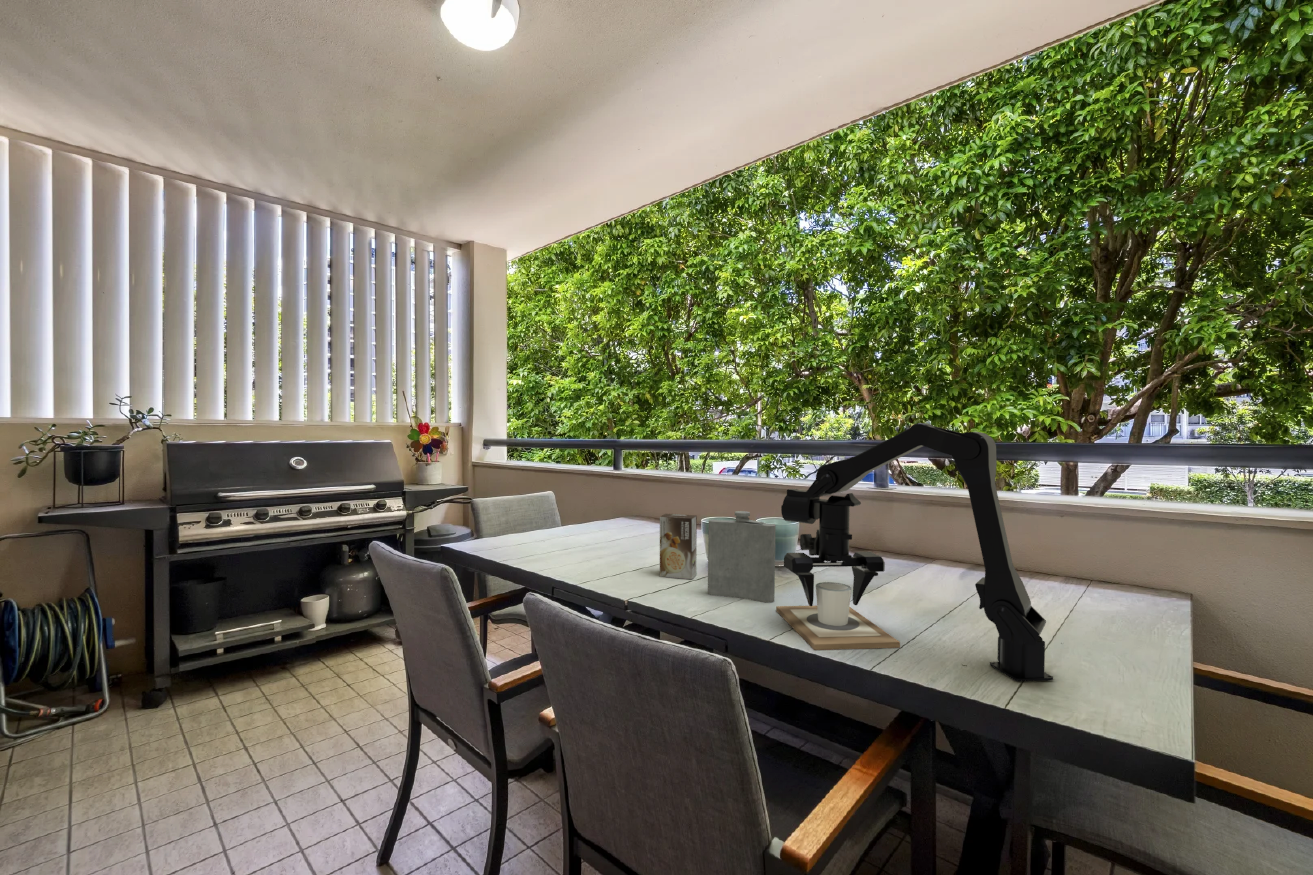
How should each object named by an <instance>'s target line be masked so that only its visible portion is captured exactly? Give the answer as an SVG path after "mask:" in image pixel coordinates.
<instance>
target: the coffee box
mask: <svg viewBox="0 0 1313 875" xmlns="http://www.w3.org/2000/svg"><path fill="white" fill-rule="evenodd" d="M697 518H698V516H697V515H694V514H678V513H677V514H676V513H664V514H662V515H661V516H659V577H660V578H671V579H672V578H673V579H686V580H693V579H694V578H695V577H696V576H697V574H698V573H697V569H698V568H697V554H698V553H697V547H698V546H697V538H698V537H697V523H698V522H697V521H698V520H697Z"/></svg>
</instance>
